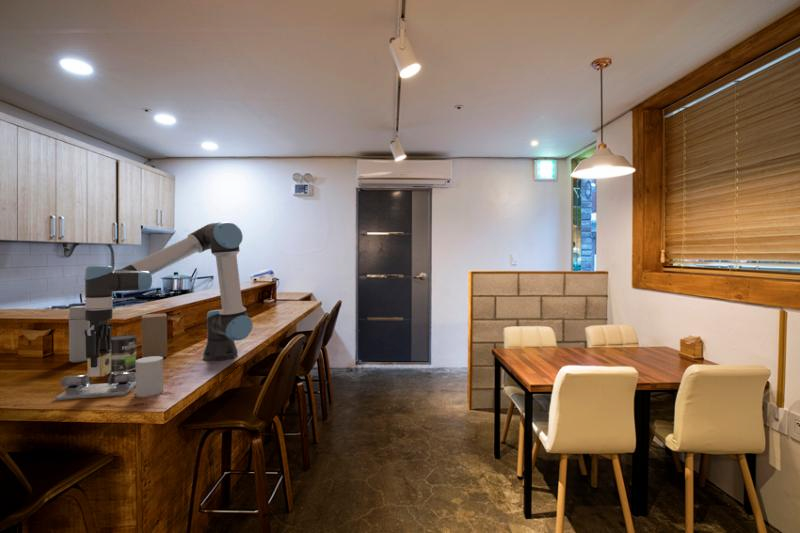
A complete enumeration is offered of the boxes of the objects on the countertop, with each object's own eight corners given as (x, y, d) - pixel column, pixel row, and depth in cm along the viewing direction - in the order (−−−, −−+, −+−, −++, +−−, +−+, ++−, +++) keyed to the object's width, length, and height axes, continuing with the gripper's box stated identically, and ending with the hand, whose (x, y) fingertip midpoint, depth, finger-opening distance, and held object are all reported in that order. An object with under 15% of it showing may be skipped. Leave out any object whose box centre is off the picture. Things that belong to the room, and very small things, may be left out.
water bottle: (92, 360, 167) (91, 306, 167) (69, 364, 162) (68, 308, 161) (89, 356, 174) (88, 304, 173) (67, 360, 168) (66, 306, 167)
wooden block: (166, 352, 184) (165, 313, 183) (167, 356, 176) (167, 315, 175) (141, 355, 178) (141, 314, 177) (141, 360, 170) (141, 317, 169)
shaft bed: (139, 384, 138) (139, 366, 138) (126, 394, 128) (126, 375, 128) (73, 388, 133) (73, 370, 133) (54, 400, 122) (53, 380, 122)
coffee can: (143, 367, 159) (142, 335, 159) (120, 374, 149) (120, 340, 149) (123, 365, 161) (123, 333, 161) (100, 372, 151) (99, 339, 151)
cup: (166, 392, 131) (166, 359, 130) (139, 398, 125) (138, 364, 124) (159, 386, 136) (159, 354, 136) (133, 392, 130) (132, 359, 130)
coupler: (87, 377, 127) (86, 357, 127) (93, 373, 131) (93, 354, 131) (104, 376, 129) (104, 356, 129) (110, 372, 133) (110, 353, 132)
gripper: (99, 305, 137) (99, 367, 137) (71, 312, 120) (71, 382, 121) (122, 305, 139) (122, 366, 139) (98, 312, 122) (98, 380, 123)
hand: (98, 373), depth 130 cm, fingers closed on coupler, 4 cm apart
